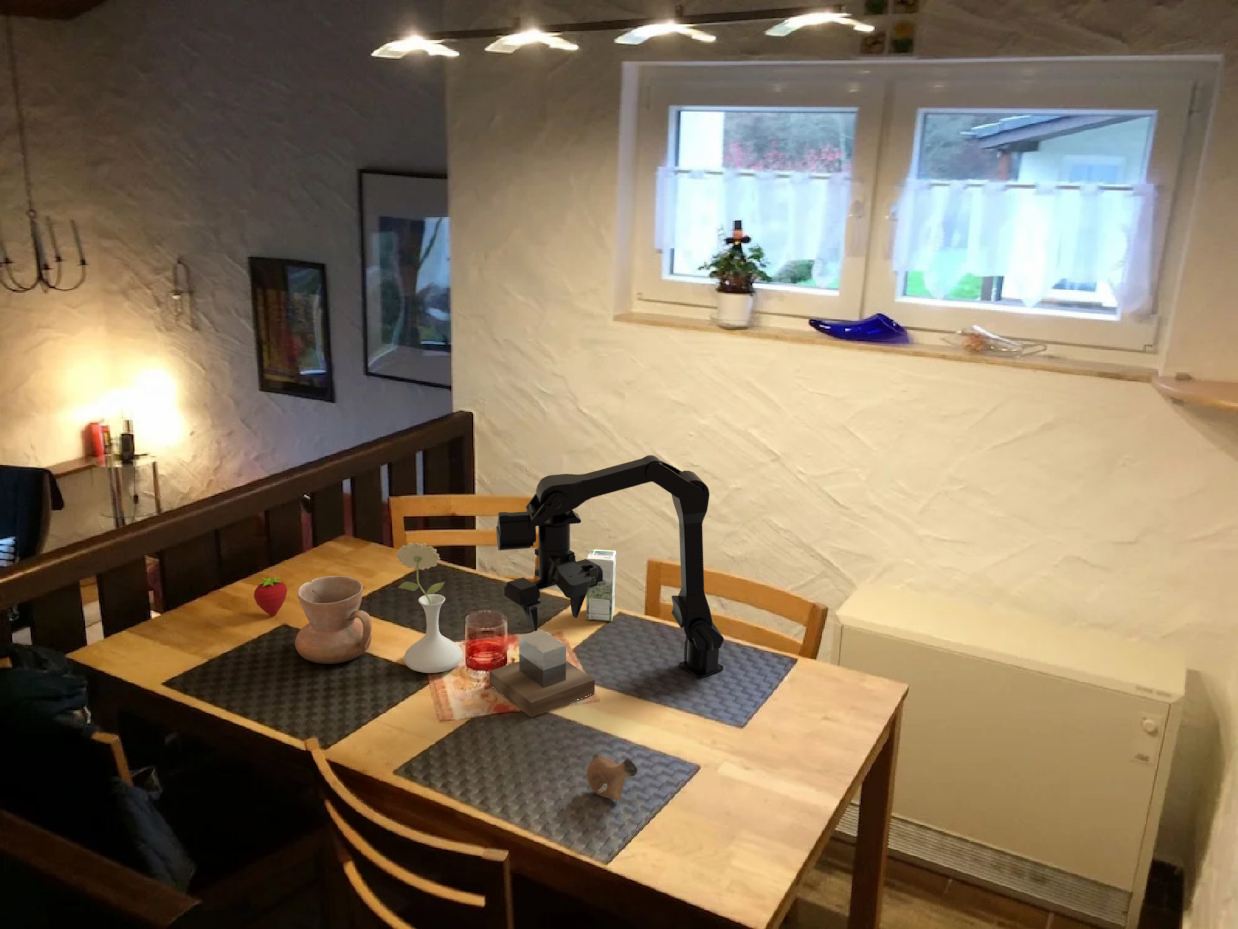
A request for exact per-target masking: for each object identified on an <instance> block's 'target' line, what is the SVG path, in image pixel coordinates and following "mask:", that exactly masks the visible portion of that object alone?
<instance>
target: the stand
mask: <svg viewBox="0 0 1238 929" xmlns="http://www.w3.org/2000/svg"><path fill="white" fill-rule="evenodd" d="M595 681H596V680H595V679H594V678H593V677H591V676H590V675H588V674H587V673H586V672H584V671H582V670H581V669H579V668H578V667H577V666H575V665H573V664H572V663H571V662H569V660H566V680H565V681H562V682H559V683H556V684H553V685H550V686H547V687H544V688H543V687H541V686H540V685H539V684H537V683H536V682H534V681H533V680H532V679H530V678H529V677H528V676H526V675H525V674H524V673H522V672H521V671H520V670H519V661H517V662H513V663H510V664H507V665H505V666H501V667H497V668H495V669H491V670H489V686H490V685H491V686H492V687H494V688H495V689H496V690H497V691H496V690H495V689H494V688H493V689H494V690H495V691H496V692H497V693H499V694H500V693H501V694H502V696H503V697H504V698H505V699H506V700H508V702H509V701H511V703H512V704H513V705H514V706H516V707H517V708H518V709H519V710H521V711H522V712H523V713H524V714H525V715H527V716H529V718H534V717H537V716H539V715H543V714H544V713H545V714H546V713H547V712H551V711H553V710H556V709H558V708H561V707H564V706H566V705H569V704H571V702H572V703H574V702H573V701H575V700H577V699H580V700H582V699H581V698H583V699H585V698H584V697H585V696H588V695H590V694H594V693H595V689H596V688H595V685H596V682H595ZM491 686H490V687H491ZM492 687H491V688H492ZM501 694H500V695H501ZM594 695H595V694H594ZM588 697H589V696H588ZM575 702H576V701H575Z"/></svg>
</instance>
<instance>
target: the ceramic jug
mask: <svg viewBox="0 0 1238 929" xmlns="http://www.w3.org/2000/svg"><path fill="white" fill-rule="evenodd" d="M363 590H364V586H363V584H362V582H360V580H358V579H356V578H354V577H351V576H345V575H342V576H341V575H328V576H321V577H317V578H314V579H311V581H310V582H309V581H307V582H305V583H302V585H300V587H298V590H297V597H296V598H297V599H298V601H299V604H300V607H301V609H302V611H303V613H304V615H305V616H306V619H307V621H308V623H307V624H305V625H304V626H303V627H302V628H301V629H300V630H299V631H298V632H297V635H296V636H295V641H294V647H295V649H296V651H297V653H298V654H299V655H300V656H301V657H302V658H303V659H305V660H307V661H309V662H312V663H316V664H324V665H326V664H327V665H332V664H333V665H334V664H340V663H341V664H342V663H345V662H349V661H352V660H354V659H356V658H359V657H360V656H361V655H363V654H364V653H365V652H366V651H367V650H368V649H369V648H370V645H371V643H372V636H373V635H372V630H373V622H372V618H371V617H370V615H369V613H367V612H366V611H365V610H362V609H361V610H360V607H361V603H362V599H363V593H364V592H363Z"/></svg>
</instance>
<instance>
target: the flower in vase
mask: <svg viewBox="0 0 1238 929" xmlns="http://www.w3.org/2000/svg"><path fill="white" fill-rule="evenodd" d="M395 557H396V558H397V559H398V562H399V563H401V566H405V567H407V568H408V569H409V568H413V570H416V583H415V582H411V581H404V582H402V583H401V584H400V585H399V586H398V588H397V589H402V590H403V589H404V590H408V591H412V592H414V591H417V589H420V590H421V592H422V593H423V594H424V595H422V596H420V597H419V598H418V600H417V601H418V603H419V604H420V605H421V607H422V608H423V610H424V614H425V620H426V621H425V622H426V631H425V634H424V635H423V637H422V638H420V639H419V640H416V641H415V642H414V643H413V644H411V645H410V647H408V648H407V649H406V651H405V653H404V655H403V663H405V665H406V666H407V667H408V668H409V669H410V670H412V671H414V672H415V671H416V672H418V673H419V672H420V673H425V674H427V673H428V674H432V673H433V674H434V673H435V674H436V673H441V672H445V671H450V670H452V669H454V668H455V667H457V666H459V664H460V663H461V662H462V660H463V658H464V653H463V651H462V648H461V647H460V646H459V645H458V644H457V643H455V641H453V640H452V639H449V638H448V637H445V636H444V635H442V634H441V632H440V628H439V627H440V625H439V617H440V611H441V607H442V605H443V603H444V602H445V600H446V597H445V596H443V595H441V594H436V593H437V592H438V591H440V590H441V589H442V588H443V587H444V584H445V581H442V582H438V583H434V584H432V585H431V586H430V587H429V589H428V590H427V591H425V590H424V589H423V587H422V586H421V584H420V582H419V570H422V571H425V569H427V570H428V569H429V570H430V568H432V567H433V568H434V567H436V566H437V564H438V563H439V561H440V560H441V558H440V554H439V553H437V549H436V548H434V546H427V544H426V543H425V542H421V543H420V544H419V543H418V542H413V543H412V542H408V543H407V545H405V544H404V545H403V544H402V545H401V547H400V548H398V551H397V554H395Z"/></svg>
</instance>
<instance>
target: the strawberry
mask: <svg viewBox="0 0 1238 929" xmlns="http://www.w3.org/2000/svg"><path fill="white" fill-rule="evenodd" d="M281 578H282V576H281V577H279V576H278V577H268V578H266V577H261V579H262V582H260V583H257V587H256V588H255V590H254V594H253V598H254V600H255V603H256V604H257V606H258V607H259V608H260V609H261V610H262V611H264V612H265V613H266V614H268V615H269V616H270V617H275V616H277V614H278V613H279V610H280V609H281V608H282V606H283V604H284V602H285V600H286V597H287V593H288V588H287V585H286V583H285V582H284V581H281V580H279V579H281Z"/></svg>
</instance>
